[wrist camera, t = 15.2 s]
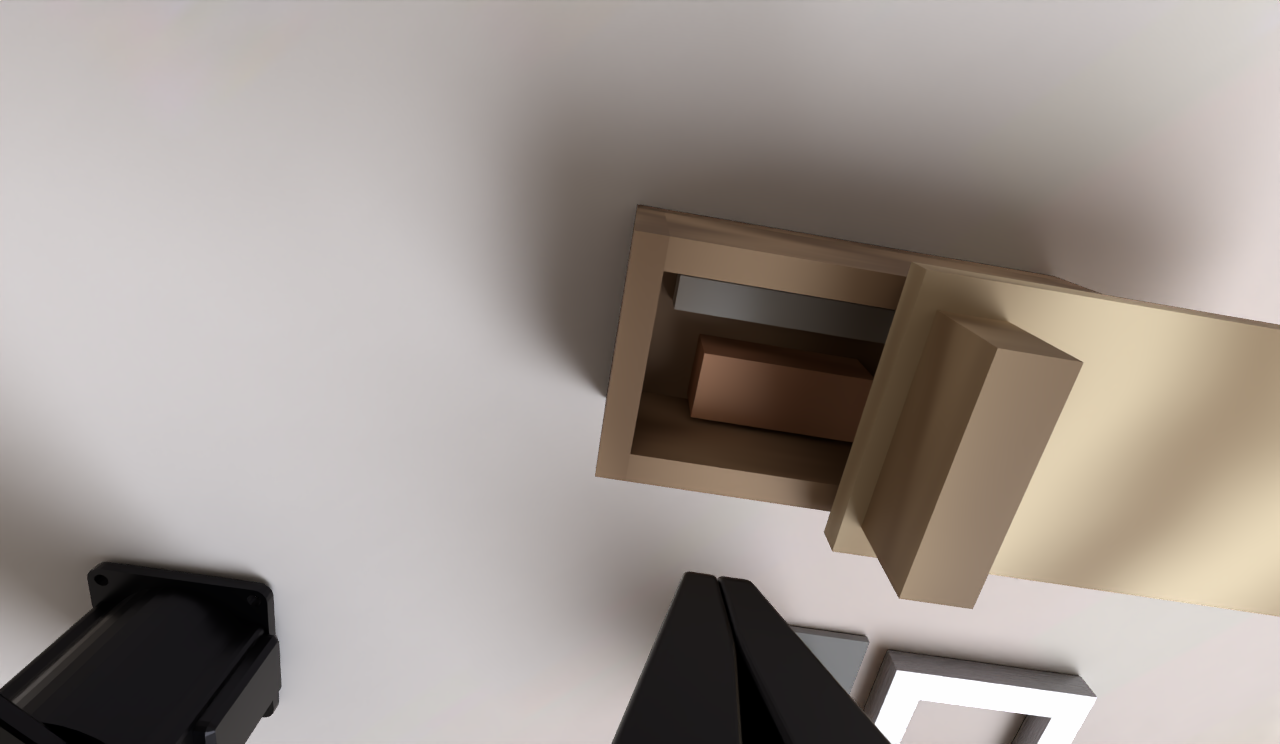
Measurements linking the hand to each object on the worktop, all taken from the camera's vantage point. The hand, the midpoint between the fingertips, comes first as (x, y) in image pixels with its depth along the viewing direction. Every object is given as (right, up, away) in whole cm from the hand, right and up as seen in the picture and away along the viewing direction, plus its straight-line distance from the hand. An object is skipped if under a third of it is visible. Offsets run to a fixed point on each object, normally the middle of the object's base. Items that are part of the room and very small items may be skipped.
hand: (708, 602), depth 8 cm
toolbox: (+5, +4, +12) cm, 14 cm away
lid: (+11, +1, +8) cm, 14 cm away
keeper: (+12, -12, +19) cm, 25 cm away
